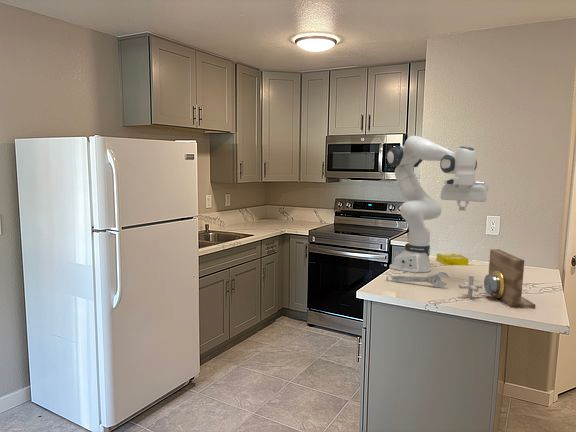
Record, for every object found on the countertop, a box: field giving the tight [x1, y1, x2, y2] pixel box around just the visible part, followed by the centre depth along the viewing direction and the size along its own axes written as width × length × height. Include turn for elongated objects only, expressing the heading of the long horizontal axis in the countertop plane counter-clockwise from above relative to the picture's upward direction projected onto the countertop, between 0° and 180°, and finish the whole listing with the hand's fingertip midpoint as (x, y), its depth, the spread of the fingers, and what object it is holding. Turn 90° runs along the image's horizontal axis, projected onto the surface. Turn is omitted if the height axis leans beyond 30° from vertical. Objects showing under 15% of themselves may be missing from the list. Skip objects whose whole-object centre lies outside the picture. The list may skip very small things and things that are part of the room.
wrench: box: [385, 270, 451, 289], centre depth 214 cm, size 8×2×30 cm
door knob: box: [483, 271, 505, 299], centre depth 194 cm, size 5×12×12 cm, turn 177°
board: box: [487, 248, 536, 309], centre depth 193 cm, size 10×24×20 cm, turn 177°
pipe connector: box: [458, 274, 483, 299], centre depth 194 cm, size 10×10×10 cm
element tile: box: [436, 252, 469, 266], centre depth 268 cm, size 15×15×5 cm
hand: (462, 210), depth 209 cm, fingers closed
